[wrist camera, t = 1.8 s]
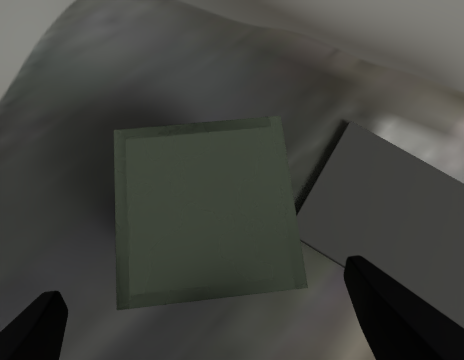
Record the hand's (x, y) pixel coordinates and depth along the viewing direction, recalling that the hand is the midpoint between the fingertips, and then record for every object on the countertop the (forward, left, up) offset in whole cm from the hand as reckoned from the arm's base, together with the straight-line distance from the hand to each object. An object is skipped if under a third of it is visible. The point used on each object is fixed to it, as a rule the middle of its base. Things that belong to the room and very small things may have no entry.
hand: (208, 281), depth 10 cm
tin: (+1, -2, -10) cm, 10 cm away
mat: (-9, -9, -10) cm, 16 cm away
